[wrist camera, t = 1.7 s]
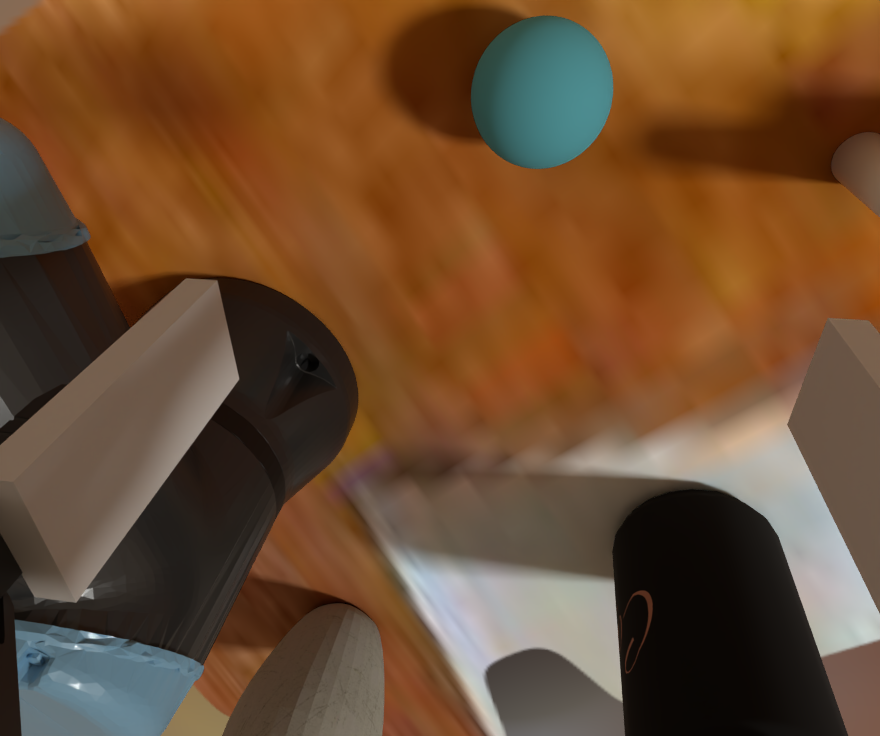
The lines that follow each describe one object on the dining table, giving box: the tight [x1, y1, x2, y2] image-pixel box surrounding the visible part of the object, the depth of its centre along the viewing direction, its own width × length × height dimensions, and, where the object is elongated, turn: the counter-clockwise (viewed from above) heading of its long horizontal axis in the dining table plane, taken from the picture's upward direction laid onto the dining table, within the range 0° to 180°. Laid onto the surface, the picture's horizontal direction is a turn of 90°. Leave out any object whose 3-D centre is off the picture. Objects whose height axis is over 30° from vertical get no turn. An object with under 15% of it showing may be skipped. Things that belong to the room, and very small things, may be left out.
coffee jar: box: [612, 489, 848, 736], centre depth 37 cm, size 11×11×18 cm
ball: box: [471, 16, 613, 169], centre depth 27 cm, size 6×6×6 cm
